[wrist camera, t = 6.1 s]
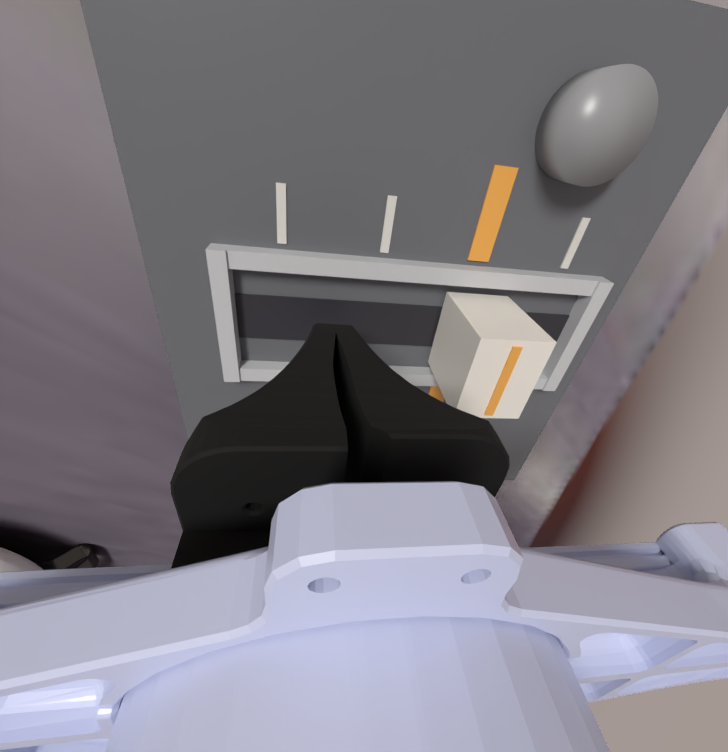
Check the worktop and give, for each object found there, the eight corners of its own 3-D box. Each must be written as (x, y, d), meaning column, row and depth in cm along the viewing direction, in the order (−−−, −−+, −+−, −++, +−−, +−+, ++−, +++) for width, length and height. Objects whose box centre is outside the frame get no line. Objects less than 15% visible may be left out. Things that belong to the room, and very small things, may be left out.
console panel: (503, 460, 23) (523, 497, 20) (206, 462, 20) (192, 504, 18) (726, 30, 11) (826, 10, 9) (83, -111, 8) (-1, -193, 6)
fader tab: (482, 364, 16) (519, 420, 13) (427, 362, 15) (453, 419, 12) (508, 296, 14) (558, 343, 11) (446, 291, 13) (481, 339, 10)
